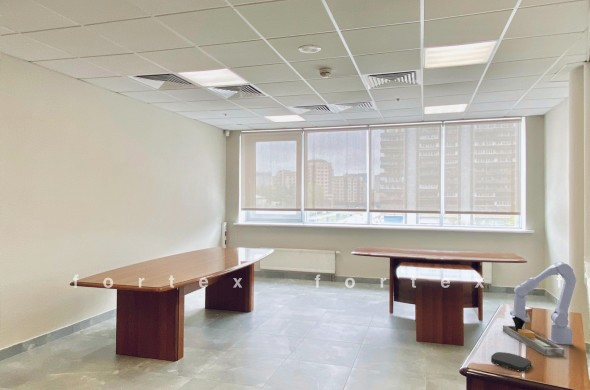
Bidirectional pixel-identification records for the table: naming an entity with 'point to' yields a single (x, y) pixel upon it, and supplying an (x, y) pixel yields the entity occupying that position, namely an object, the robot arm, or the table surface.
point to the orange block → (526, 333)
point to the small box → (529, 315)
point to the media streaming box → (511, 361)
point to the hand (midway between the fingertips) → (518, 330)
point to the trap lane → (535, 342)
